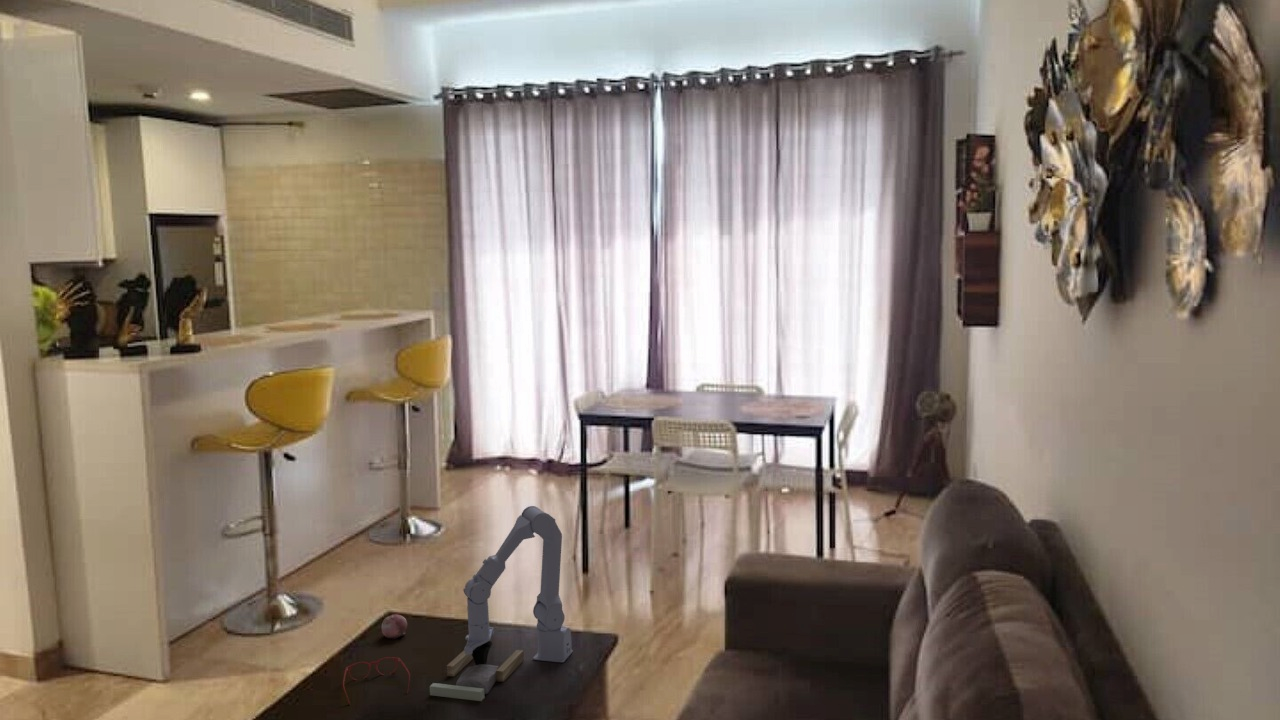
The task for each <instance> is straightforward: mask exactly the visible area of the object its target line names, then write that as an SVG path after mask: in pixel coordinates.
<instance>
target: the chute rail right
mask: <svg viewBox="0 0 1280 720" xmlns="http://www.w3.org/2000/svg"><path fill="white" fill-rule="evenodd" d="M524 658H525V656H524V650H523V649H516V650H515V651H514V652H513V653H512V654H511V655H510V656H509V657H508V658H507V659H506V660H505V661H504V662H503V663H502V664H501V665H500V666H499V668H498V669H497V670H496V679H497V680H496V682H500V683H501V682H502V683H504V682H505V681H506V680H507V679H508V677H509V676H510V675H511V674H512V673H513V672H514V671H515V670H516V669H517V668H518V667H519V666H520V665H521V664H522V663H523V662H524V660H525V659H524Z"/></svg>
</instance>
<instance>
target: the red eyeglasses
mask: <svg viewBox="0 0 1280 720" xmlns="http://www.w3.org/2000/svg"><path fill="white" fill-rule="evenodd" d="M386 659H392V660H393V661H395V668H394V670H393V671H392V672H390V674H389V675H391V674H392V675H393V674H394V672H395V671H396V670H397V667H398V662H399V663H400V665H402V666H403V667H404V669H405V670H406V672H407V674H408V685H407V691H406V694H407V695H408V694H409V690H410V682H411V674H410V671H409V670H408V668H407V666H406V664H405V663H404V662H403V661H402V659H401V658H400V657H395V656H394V657H393V656H389V657H388V656H387V657H386V656H385V657H382V658H380V659H378V660H377V661H371V662H367V661H359V662H355V663H352V664H351V665H348V666H346V667H345V670H344V675H343V680H342V681H343V682H342V689H343V691H344V694H345V696H346V699H347V701H348V705H349V706H351V702H350V700H349V696H348V693H347V692H346V689H345V680H346V675H347V672H348V675H349V677H350V678H351V679H352V680H354V681H358V679H356V678H354V677H353V676H352V674H351V669H352V667H353V666H355V665H357V664H366V665H367V666H368V672H367V674H366V676H364V677H363V679H364V680H365V679H366V678H367V677H368V676H369V674H370V672H371V666H372V665H374V666H375V669H376V671H377V672H378V673H379V674H380V675H381V676H384V675H385V674H384V673H381V672H380V670H379V668H378V665H379V663H380V662H381V661H382V660H386Z"/></svg>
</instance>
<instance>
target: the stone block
mask: <svg viewBox="0 0 1280 720" xmlns="http://www.w3.org/2000/svg"><path fill="white" fill-rule="evenodd" d="M499 667H500V666H499V665H494V664H487V663H486V664H479V665H476V664H475V665H472V666H469V667H466V668H465V670H464V671H463V672H462V673H461V674H460V676H459V678H458V679H457V681H456V683H455V685H456V686H465V687H474V688H483V689H484V695H487V694H489V693H490V691H491V689H492V688H493V686H494V685H495V683H496V682H497V679H496V670H497V669H498V668H499Z"/></svg>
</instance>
